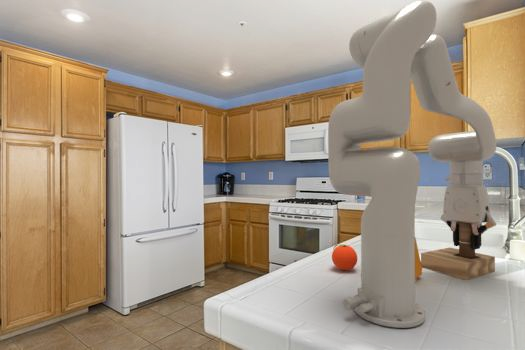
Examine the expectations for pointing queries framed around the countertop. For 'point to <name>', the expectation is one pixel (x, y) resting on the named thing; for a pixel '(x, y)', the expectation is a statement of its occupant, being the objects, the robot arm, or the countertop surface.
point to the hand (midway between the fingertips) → (466, 246)
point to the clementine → (344, 257)
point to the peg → (465, 240)
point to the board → (457, 263)
